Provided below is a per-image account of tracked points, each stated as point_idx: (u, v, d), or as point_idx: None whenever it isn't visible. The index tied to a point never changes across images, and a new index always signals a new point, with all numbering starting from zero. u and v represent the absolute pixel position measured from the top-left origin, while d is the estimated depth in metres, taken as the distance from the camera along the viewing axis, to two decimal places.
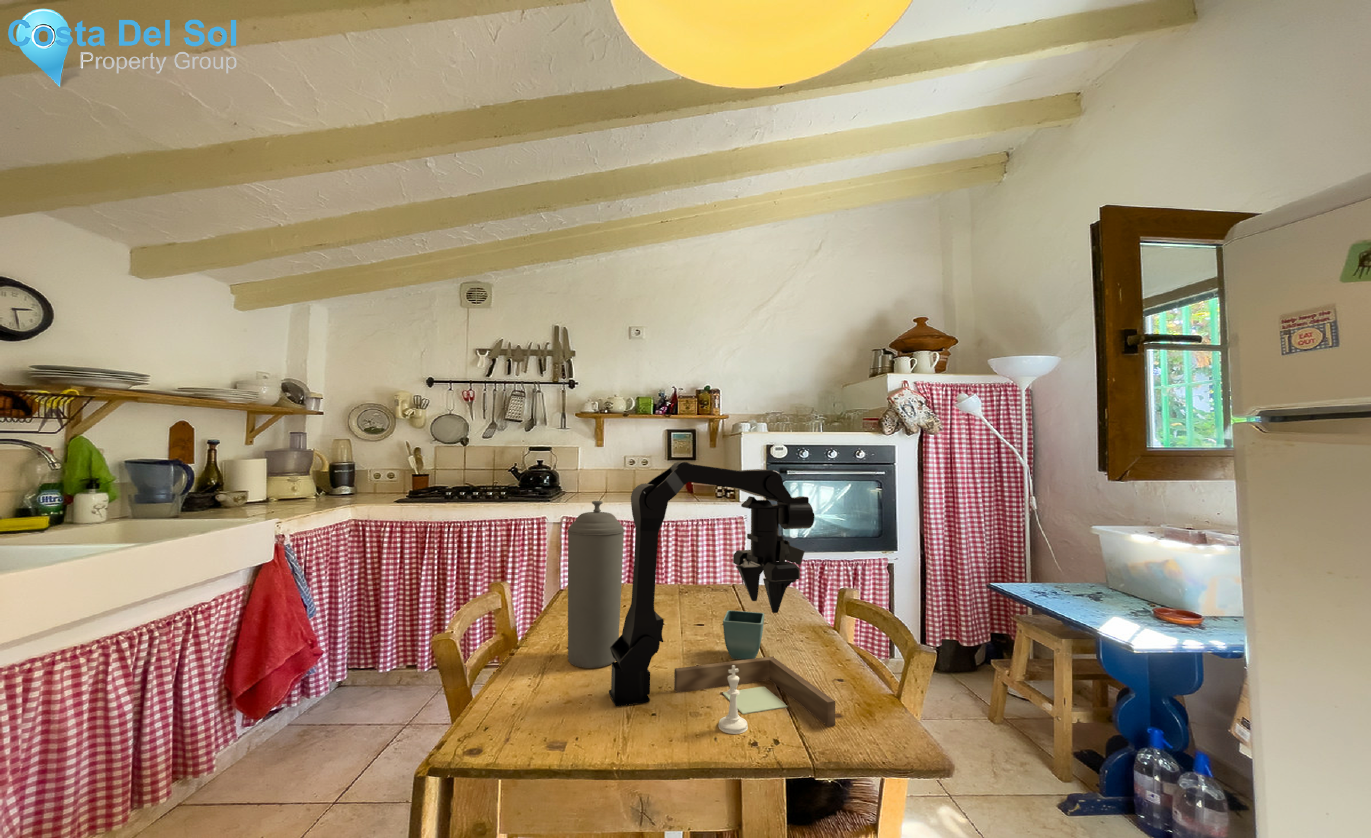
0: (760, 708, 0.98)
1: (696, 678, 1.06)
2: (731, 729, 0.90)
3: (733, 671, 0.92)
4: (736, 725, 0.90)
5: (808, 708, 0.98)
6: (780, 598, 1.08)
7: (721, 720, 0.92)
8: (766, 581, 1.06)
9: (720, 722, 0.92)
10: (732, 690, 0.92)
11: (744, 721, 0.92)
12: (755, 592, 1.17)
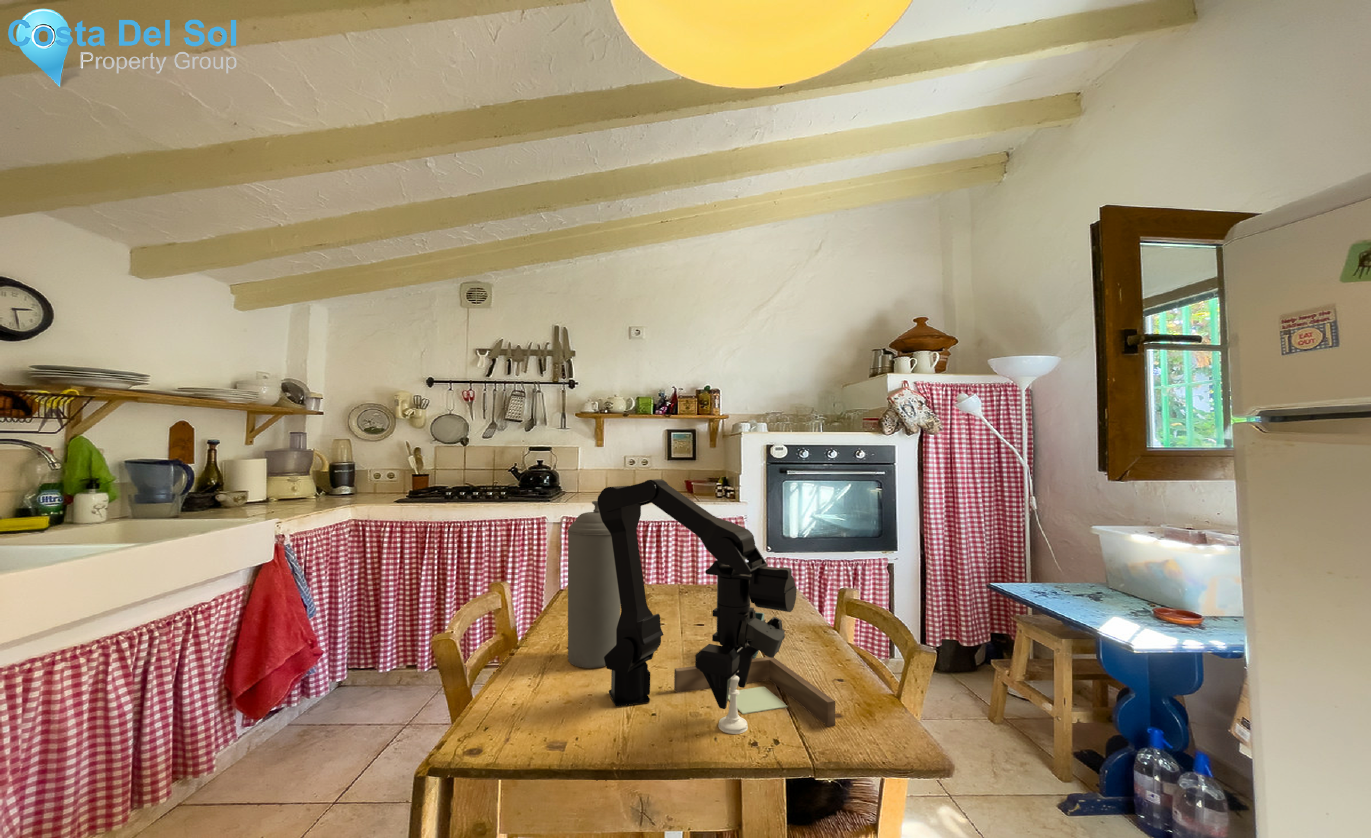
0: (760, 708, 0.98)
1: (696, 678, 1.06)
2: (731, 729, 0.90)
3: None
4: (736, 725, 0.90)
5: (808, 708, 0.98)
6: (723, 692, 0.87)
7: (721, 720, 0.92)
8: None
9: (720, 722, 0.92)
10: (732, 690, 0.92)
11: (744, 721, 0.92)
12: (742, 677, 0.96)
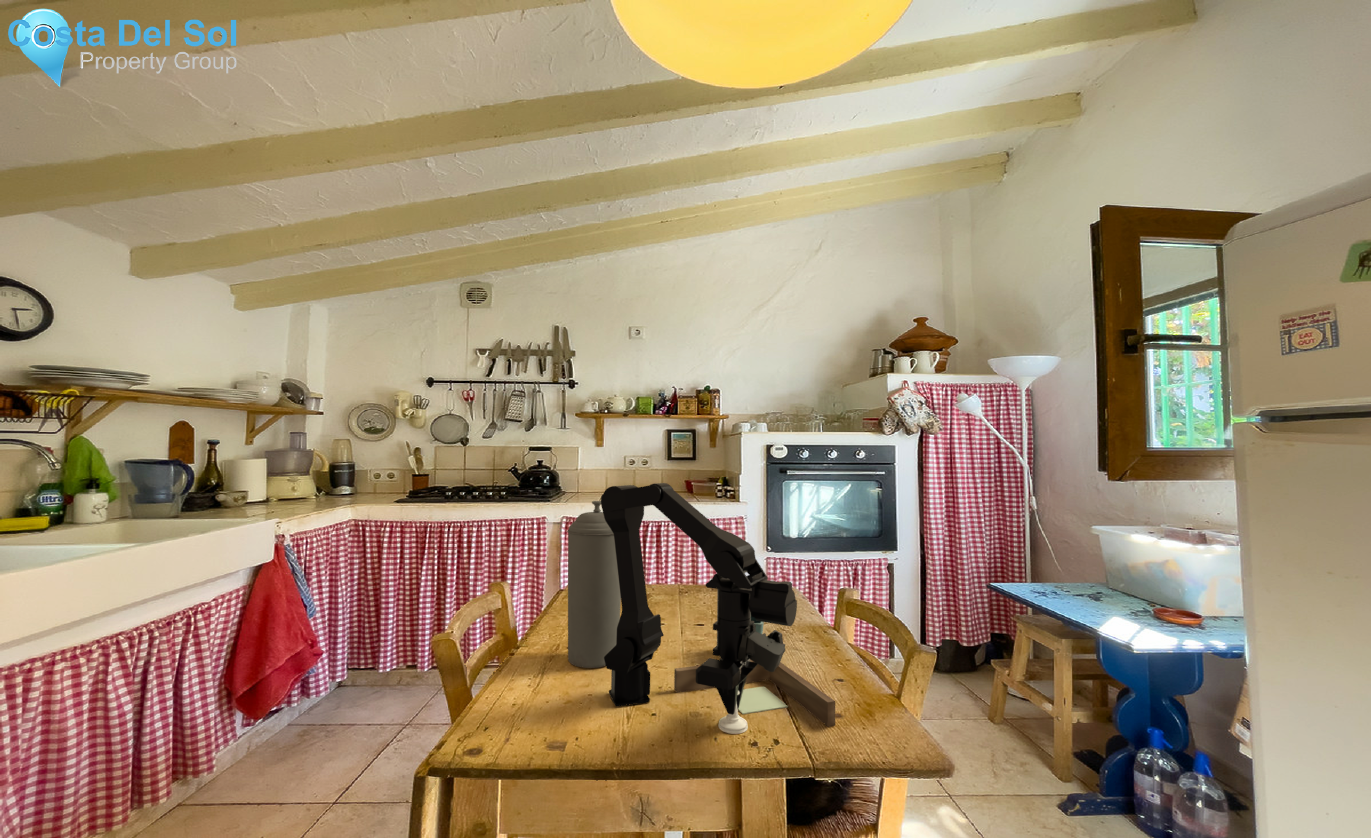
0: (760, 708, 0.98)
1: None
2: (731, 729, 0.90)
3: None
4: (736, 725, 0.90)
5: (808, 708, 0.98)
6: (732, 698, 0.90)
7: (721, 720, 0.92)
8: None
9: (720, 722, 0.92)
10: None
11: (744, 720, 0.92)
12: None
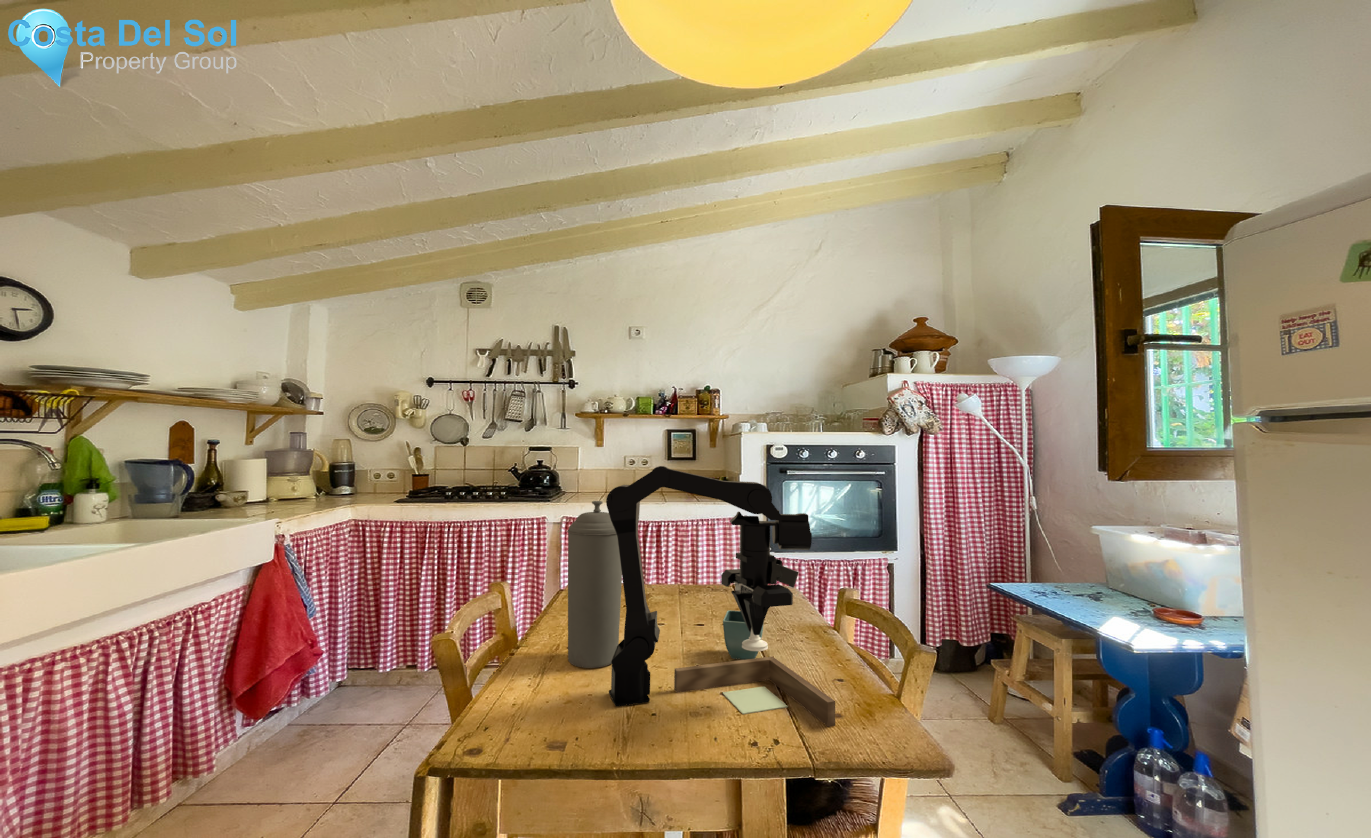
0: (760, 708, 0.98)
1: (696, 678, 1.06)
2: (762, 646, 1.01)
3: None
4: (763, 643, 1.02)
5: (808, 708, 0.98)
6: (762, 619, 1.01)
7: (747, 644, 1.02)
8: (747, 602, 1.00)
9: (749, 645, 1.01)
10: None
11: None
12: None
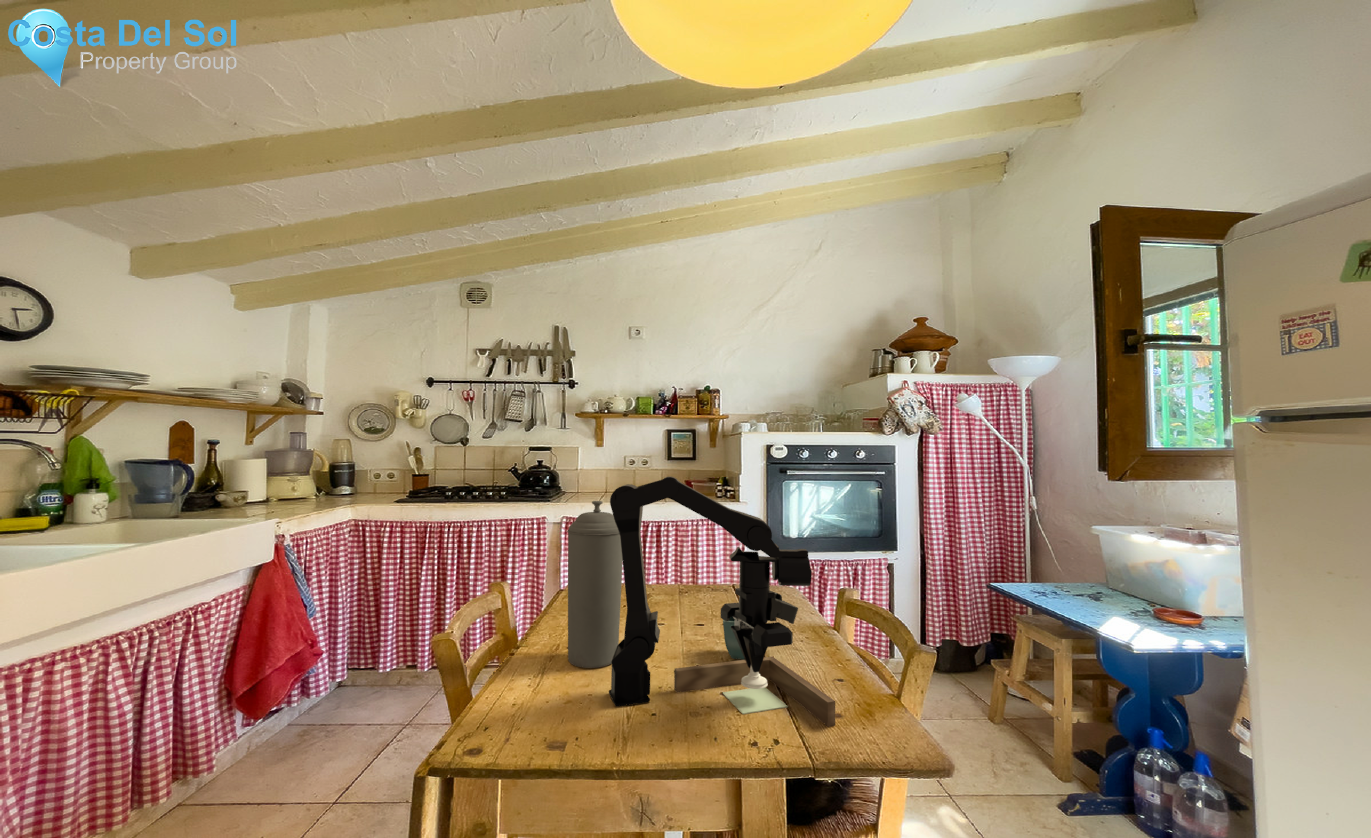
0: (760, 708, 0.98)
1: (696, 678, 1.06)
2: (762, 684, 1.00)
3: None
4: (763, 680, 1.02)
5: (808, 708, 0.98)
6: (761, 657, 1.01)
7: (746, 681, 1.01)
8: (746, 639, 0.99)
9: (748, 682, 1.01)
10: None
11: None
12: None
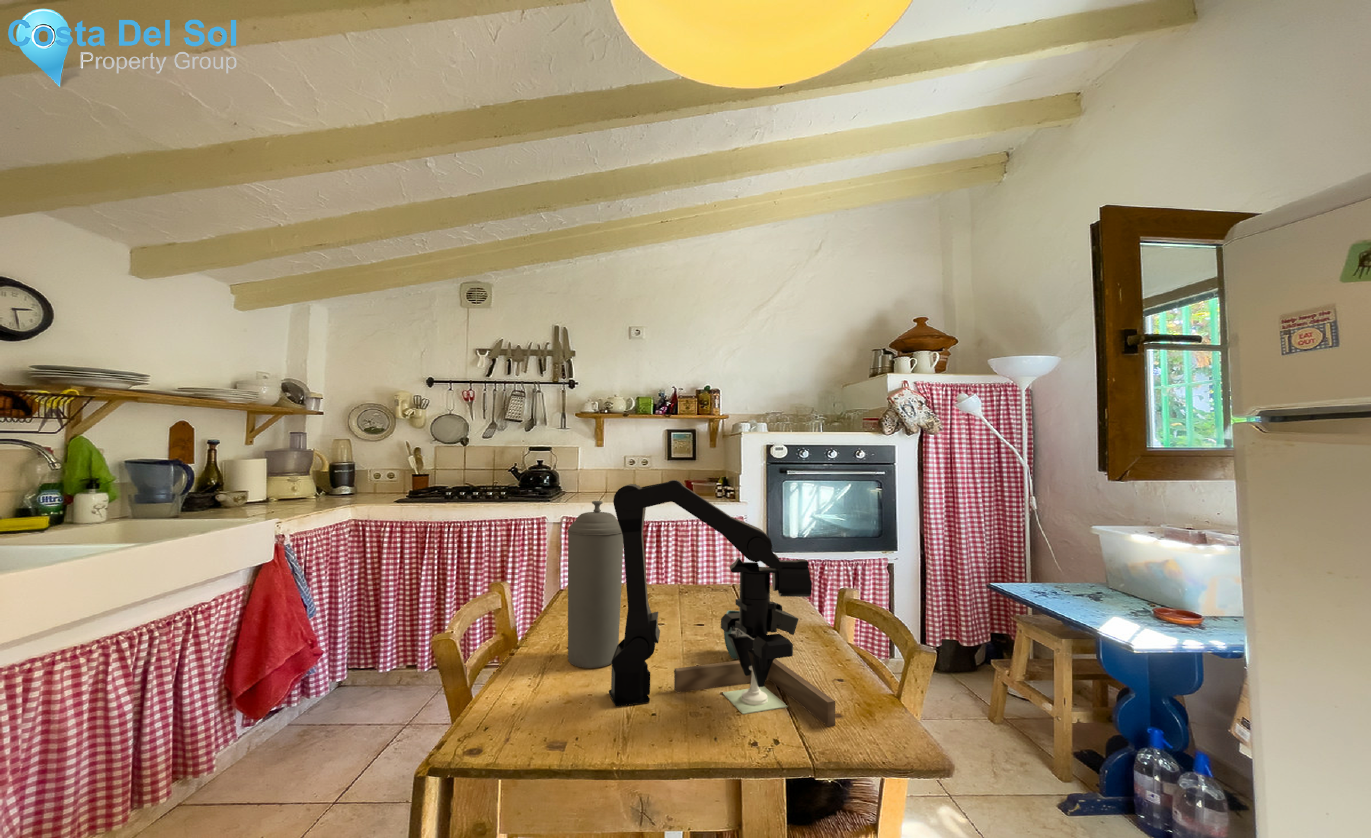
0: (760, 708, 0.98)
1: (696, 678, 1.06)
2: (762, 700, 1.00)
3: None
4: (763, 695, 1.01)
5: (808, 708, 0.98)
6: (766, 671, 0.99)
7: (747, 697, 1.01)
8: (751, 654, 0.98)
9: (749, 698, 1.00)
10: None
11: (760, 690, 1.04)
12: None
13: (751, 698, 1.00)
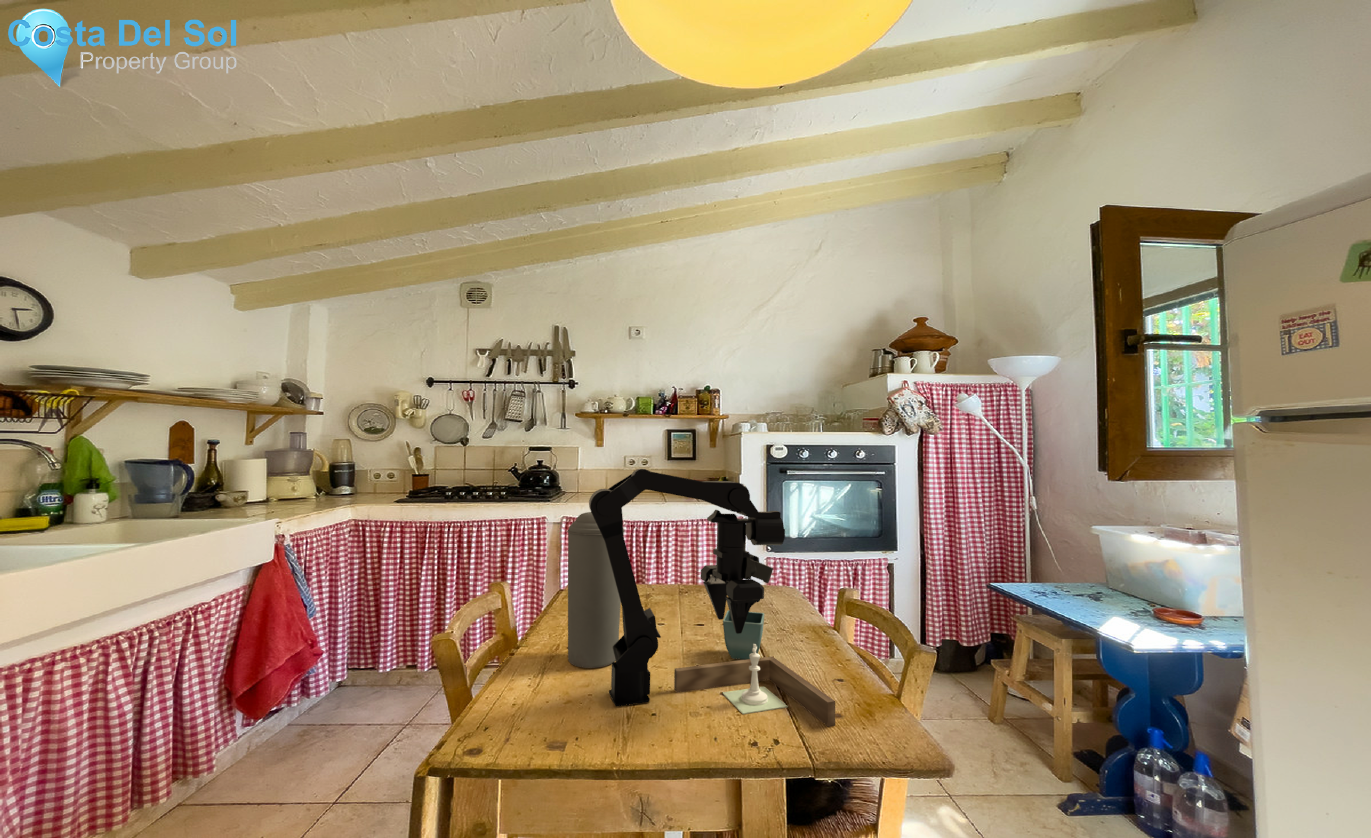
0: (760, 708, 0.98)
1: (696, 678, 1.06)
2: (762, 700, 1.00)
3: (755, 649, 1.03)
4: (763, 695, 1.01)
5: (808, 708, 0.98)
6: (744, 618, 1.02)
7: (747, 697, 1.01)
8: (728, 600, 1.01)
9: (749, 698, 1.00)
10: (755, 666, 1.02)
11: (760, 690, 1.04)
12: (722, 610, 1.12)
13: (751, 698, 1.00)
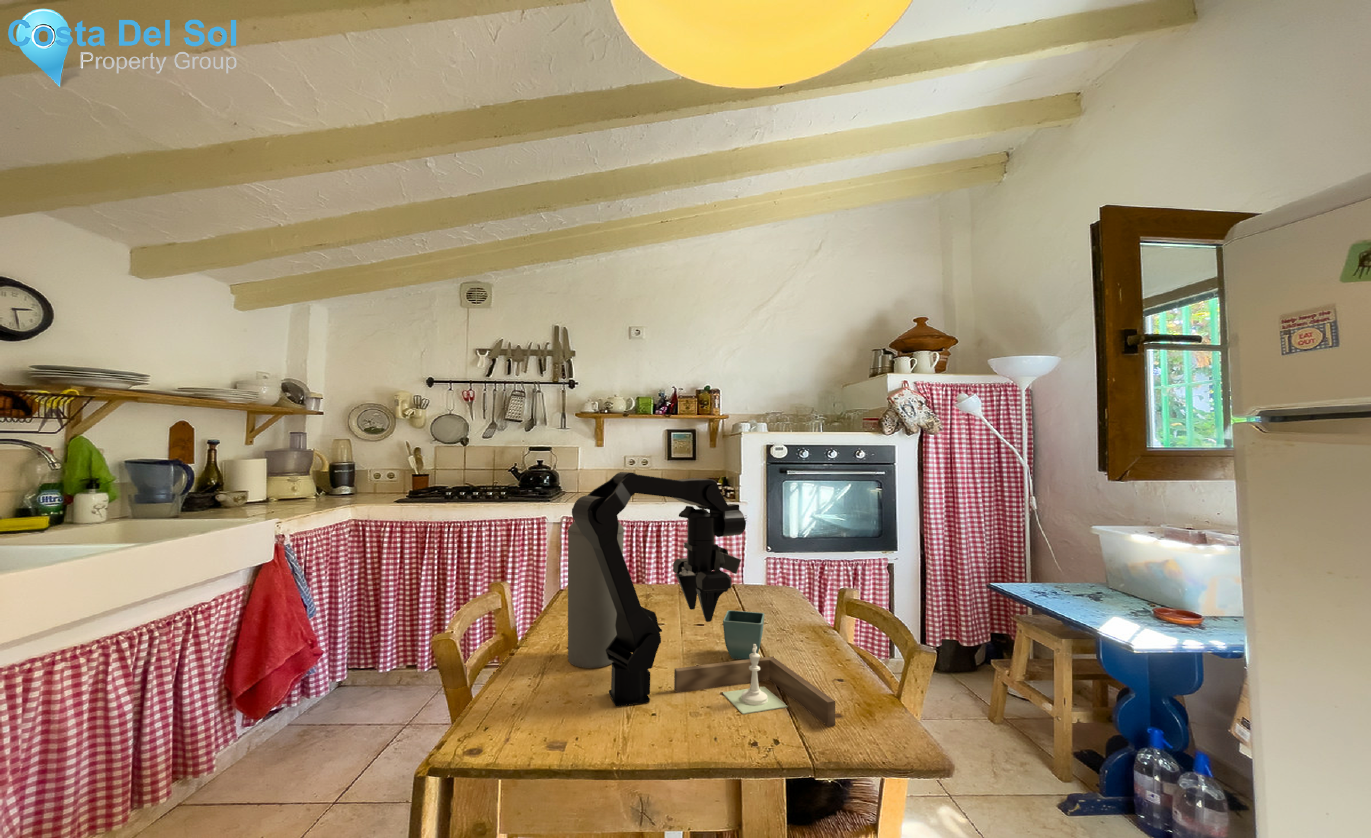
0: (760, 708, 0.98)
1: (696, 678, 1.06)
2: (762, 700, 1.00)
3: (755, 649, 1.03)
4: (763, 695, 1.01)
5: (808, 708, 0.98)
6: (713, 607, 1.08)
7: (747, 697, 1.01)
8: (698, 590, 1.07)
9: (749, 698, 1.00)
10: (756, 666, 1.02)
11: (760, 691, 1.04)
12: (693, 601, 1.18)
13: (751, 698, 1.00)
